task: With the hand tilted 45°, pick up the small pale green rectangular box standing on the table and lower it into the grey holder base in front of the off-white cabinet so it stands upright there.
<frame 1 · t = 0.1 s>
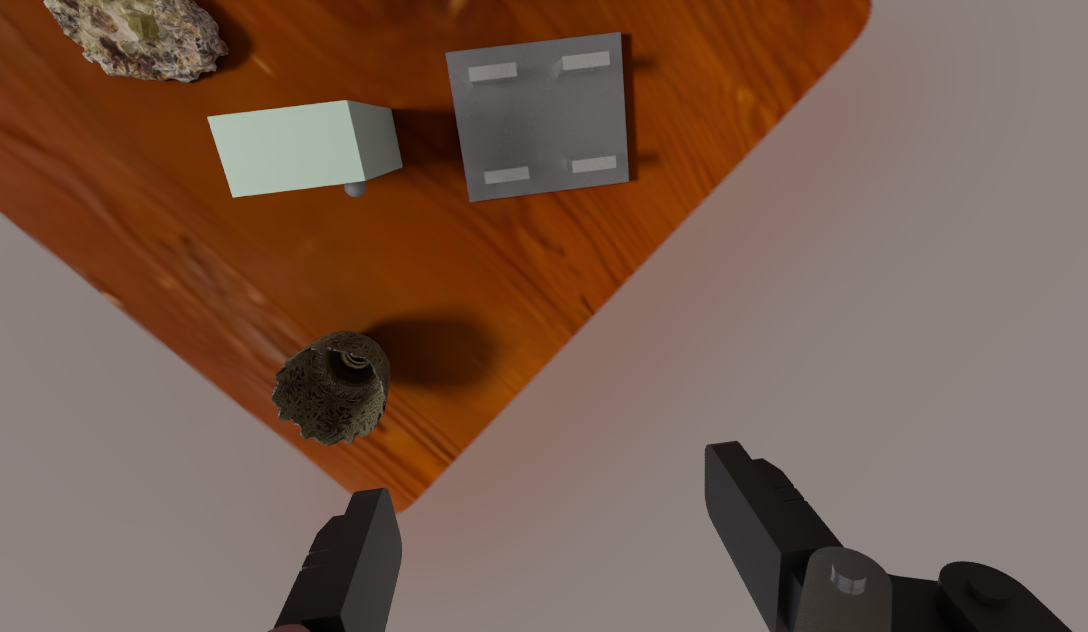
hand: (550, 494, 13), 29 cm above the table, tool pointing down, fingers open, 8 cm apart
grey holder base: (541, 120, 37), on the table
pale green rectangular box: (348, 144, 37), on the table
mineral rock: (149, 22, 34), on the table
cup: (360, 351, 43), on the table
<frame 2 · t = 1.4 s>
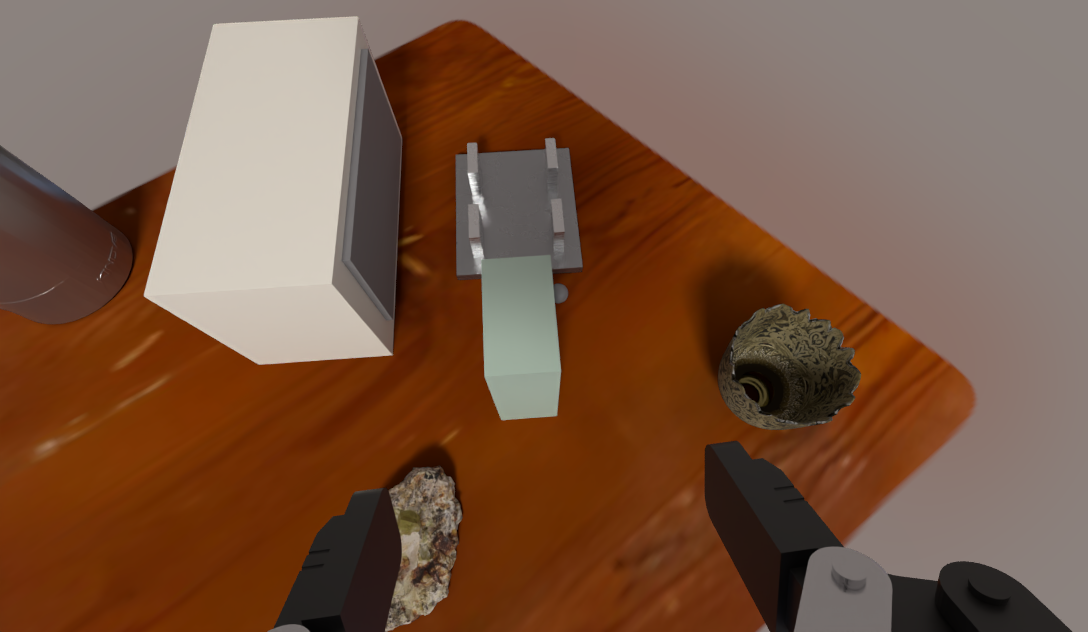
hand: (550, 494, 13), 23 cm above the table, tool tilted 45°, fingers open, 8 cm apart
grey holder base: (516, 213, 44), on the table
pale green rectangular box: (526, 371, 38), on the table
mineral rock: (406, 544, 34), on the table
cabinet: (337, 240, 43), on the table
cup: (746, 395, 38), on the table
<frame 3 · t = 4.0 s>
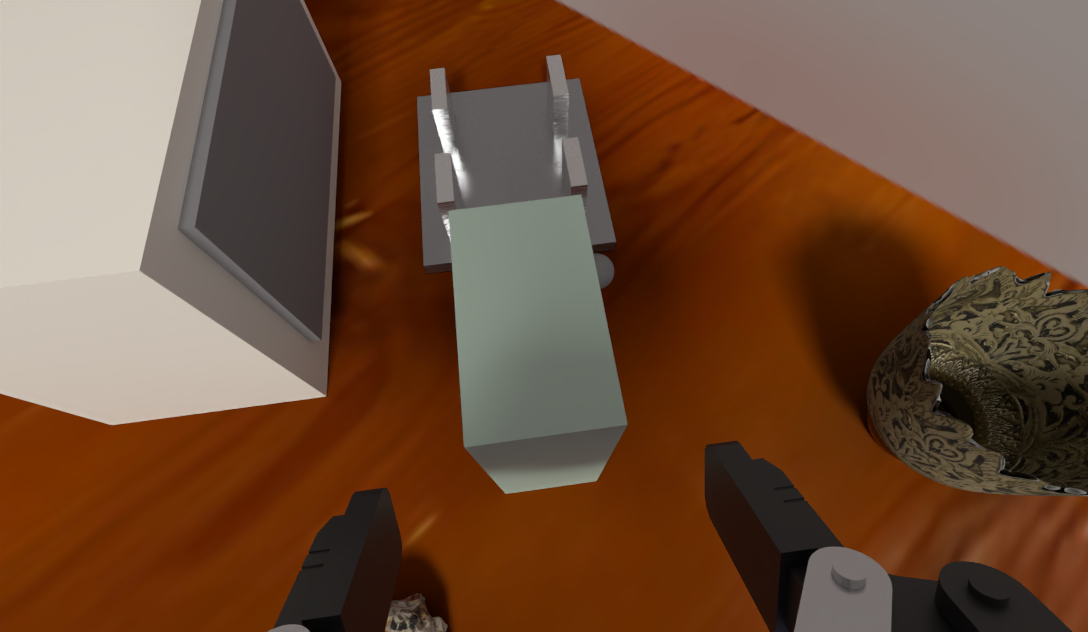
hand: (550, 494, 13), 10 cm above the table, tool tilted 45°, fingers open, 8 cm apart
grey holder base: (509, 172, 30), on the table
pale green rectangular box: (540, 409, 24), on the table
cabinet: (244, 226, 29), on the table
cup: (898, 427, 23), on the table
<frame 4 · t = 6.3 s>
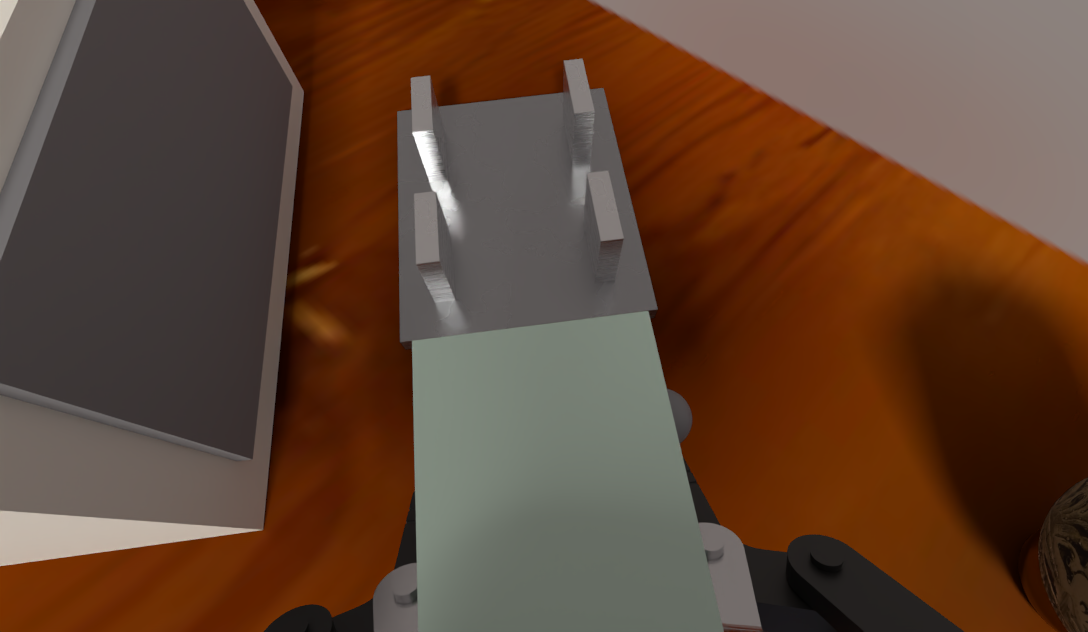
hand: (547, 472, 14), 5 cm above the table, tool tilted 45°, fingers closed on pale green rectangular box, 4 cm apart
grey holder base: (515, 211, 23), on the table
pale green rectangular box: (558, 551, 17), on the table, touching gripper
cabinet: (169, 281, 22), on the table
cup: (1061, 584, 17), on the table
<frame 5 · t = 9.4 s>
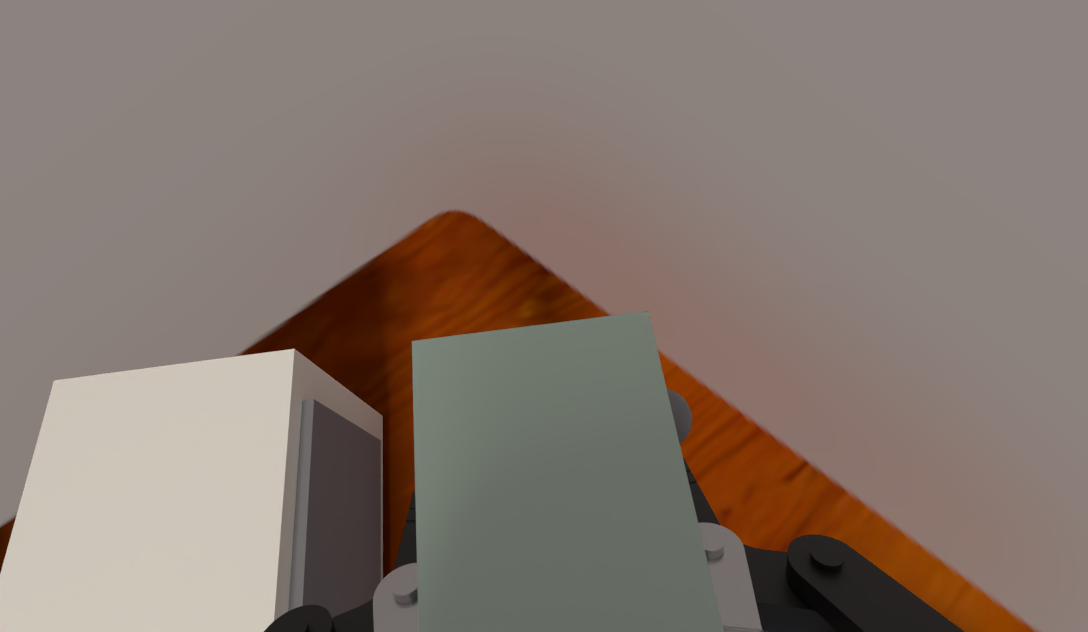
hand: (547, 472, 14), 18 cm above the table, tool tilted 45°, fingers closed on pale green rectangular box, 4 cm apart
pale green rectangular box: (558, 551, 17), point 13 cm above the table, touching gripper
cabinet: (291, 616, 28), on the table
when the fingers open (6 cm above the table, at t = 12.5 s): pale green rectangular box stays where it is, resting on grey holder base.
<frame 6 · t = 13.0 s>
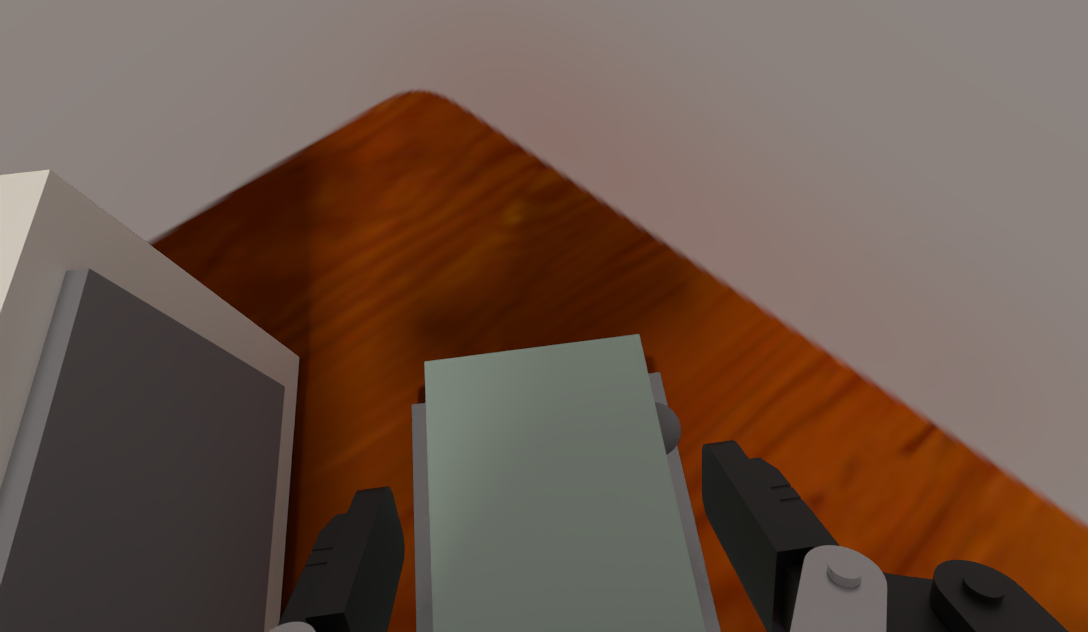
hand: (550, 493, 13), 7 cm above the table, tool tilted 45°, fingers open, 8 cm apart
grey holder base: (557, 552, 19), on the table
pale green rectangular box: (558, 552, 18), point 1 cm above the table, touching grey holder base
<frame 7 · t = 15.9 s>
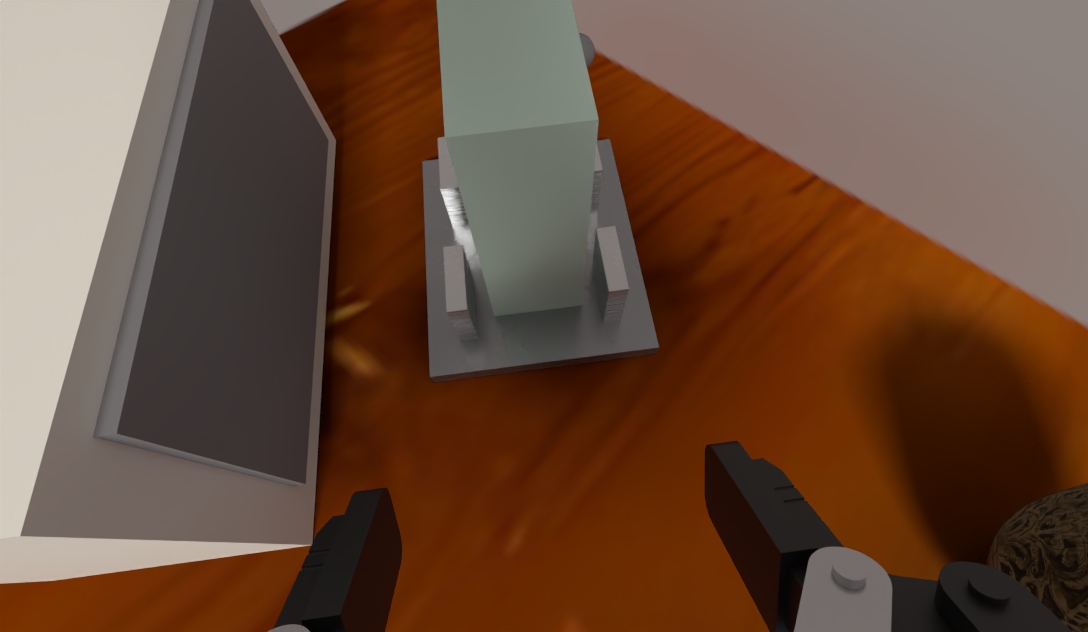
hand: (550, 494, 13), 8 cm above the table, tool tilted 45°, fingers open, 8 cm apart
grey holder base: (530, 254, 25), on the table
pale green rectangular box: (529, 245, 25), point 1 cm above the table, touching grey holder base
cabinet: (220, 319, 24), on the table
cup: (1013, 595, 19), on the table
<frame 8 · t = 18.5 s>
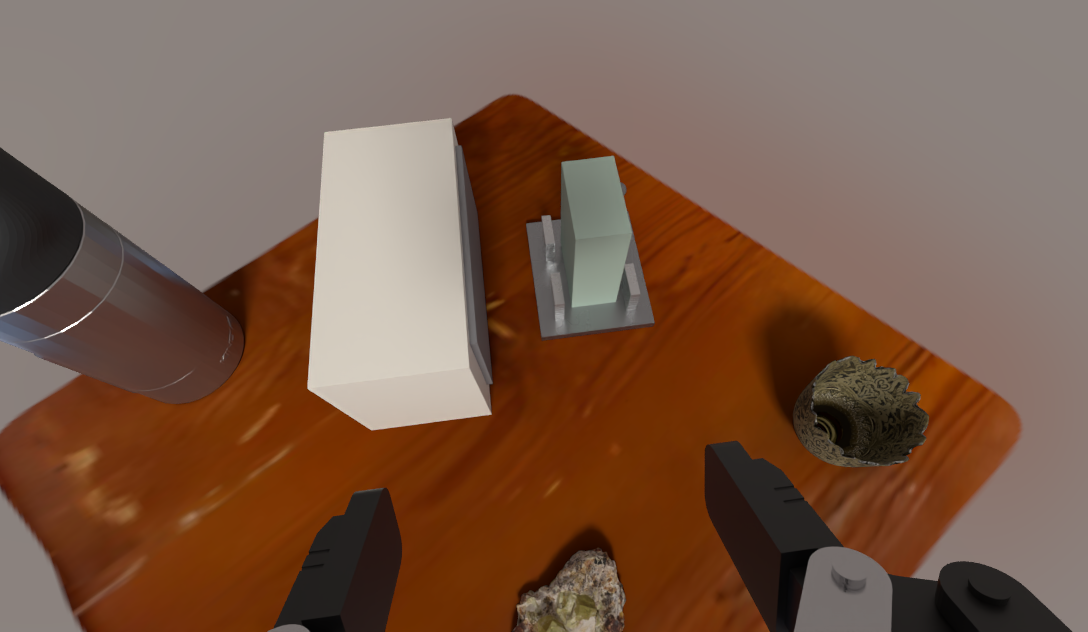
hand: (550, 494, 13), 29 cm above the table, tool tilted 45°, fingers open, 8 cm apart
grey holder base: (586, 274, 48), on the table
pale green rectangular box: (587, 270, 47), point 1 cm above the table, touching grey holder base
mineral rock: (572, 623, 37), on the table
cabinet: (427, 309, 47), on the table
cup: (814, 433, 42), on the table
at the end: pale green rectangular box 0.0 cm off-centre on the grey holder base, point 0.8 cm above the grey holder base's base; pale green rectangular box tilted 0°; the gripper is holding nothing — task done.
